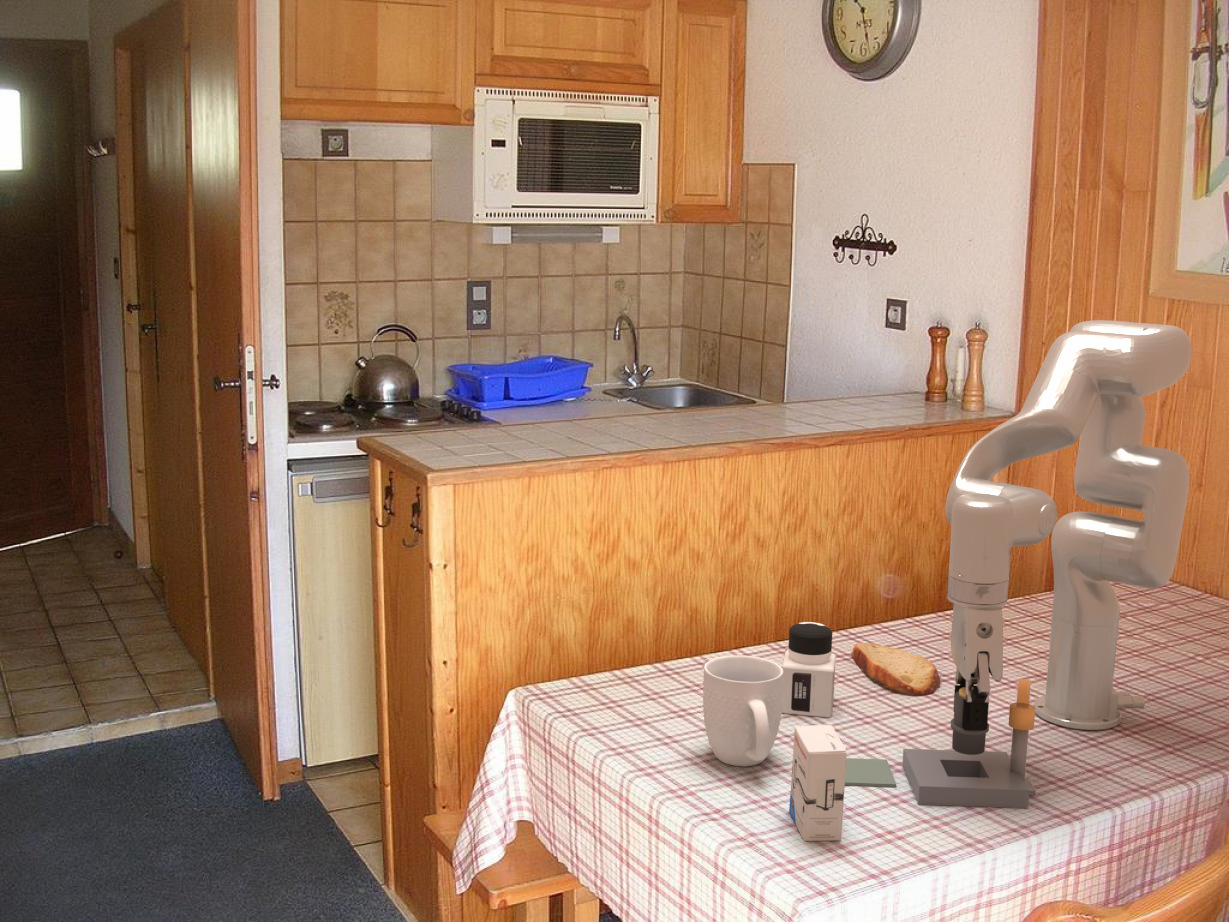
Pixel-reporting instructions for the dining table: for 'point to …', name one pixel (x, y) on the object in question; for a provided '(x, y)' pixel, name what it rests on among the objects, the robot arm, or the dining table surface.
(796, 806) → the ink box
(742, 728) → the mug
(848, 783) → the pad
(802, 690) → the container
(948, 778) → the socket
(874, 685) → the dining table surface
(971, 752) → the plug
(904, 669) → the bread slice
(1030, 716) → the clip
